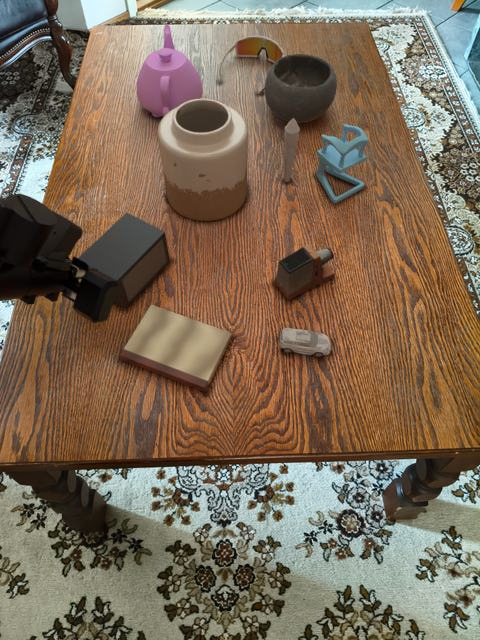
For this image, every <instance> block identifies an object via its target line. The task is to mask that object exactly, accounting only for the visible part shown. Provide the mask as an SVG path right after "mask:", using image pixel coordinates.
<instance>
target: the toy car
mask: <svg viewBox="0 0 480 640" xmlns="http://www.w3.org/2000/svg"><path fill="white" fill-rule="evenodd" d="M279 349H282V350H283V351H282V352H284V353H286V354H292V353H296V354H301V355H306V356H307V355H308V356H312V355H314V356H315V357H317V358H323V357H324V356H328V355H330V353H331V352H332V351H331V350H332V343H331V339H330V338H329V337H328V335H327V334H325V333H321V332H317V331H313V330H312V329H311V328H309V330H308V329H302V328H301V329H300V328H298V329H297V328H292V327H284V328H283V329H282V330H281V332H280V335H279Z"/></svg>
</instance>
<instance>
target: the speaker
mask: <svg viewBox="0 0 480 640" xmlns="http://www.w3.org/2000/svg"><path fill="white" fill-rule="evenodd" d="M77 258H78V259H80V260H82V261H84V262H85V263H87V264H88V265H89V266H92V267H95V268H96V269H98V271H99V272H102V273H104V274H106V275H108V276H109V277H111V278H113V279H115V280H117V283H118V286H119V287H118V290H117V293H116V296H115V299H114V301H113V304H114V305H115V304H116V306H118V307H120V308H122V309H123V310H127V309H128V308H129V307H130V305H131V304H132V303H134V301H136V300H137V298H138V297H139V296H140V295H141V294H142V293H143V292H144V290H145V289H147V288H148V286H149V285H150V284H151V283H152V282H153V281H154V280H155V278H157V277H158V276H159V275H160V273H161V272H162V271H163V270H164V269H165V268H166V267H167V266H168V265H169V264H170V263H171V259H170V258H171V257H170V252H169V246H168V241H167V236H166V231H164V230H162V229H160V228H158V227H156V226H155V225H152V224H151V223H148V222H147V221H145V220H143V219H141V218H139V217H137V216H134V215H132V214H131V213H129V212H125V213H124V214H123V215H122V216H121V217H120V218H119V219H118V220H116V222H114V224H112V226H111V227H109V228H108V229H107V230H106V231H105V232H104V233H103V234H102V235H101V236H100V237H99V238H98V239H96V240H95V242H93V243H92V244H91V245H90V246H89V247H88V248H87V249H86V250H85V251H84V252H83V253H82V254H81V255H79V256H78V257H77Z"/></svg>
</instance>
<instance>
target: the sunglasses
mask: <svg viewBox="0 0 480 640" xmlns="http://www.w3.org/2000/svg"><path fill="white" fill-rule="evenodd" d="M234 50H235V55H236V57H238V58H258V57H260V55H261V53H262V51H263V50H264V52H265V58H266V59H267V60H268V61H269V62H271V63H273V64H274V63H275V62H276V61H277V60H278V59H280V58H282V57H284V56H286V55H285V51H284V49H283V48H282V47H281V45H280V43H278V42H277V41H276V40H274V39H273V38H270V37H268V36H264V35H258V34H256V35H255V34H253V35H245V36H244V37H240V38H238V39H237V40H236V41H234V42H233V43H232V45H231V46H229V48H228V49H227V50H226V52H225V53H224V55H223V57H222V59H221V61H220V63H219V66H218V83H219V84H220V83H221V69H222V66H223V63H224V61H225V59H226V57H227V56H228V55H229V54H230V53H232V52H233V51H234ZM263 92H265V85H264V86H263V87H262V88H261V89H260V90H259V91H258V92H257V94H258V95H260V94H262V93H263Z"/></svg>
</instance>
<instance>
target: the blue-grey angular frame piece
mask: <svg viewBox="0 0 480 640" xmlns="http://www.w3.org/2000/svg"><path fill="white" fill-rule="evenodd" d="M342 128H343V130H342V134H341V139H340V138H338V137H336V136H332V135H326V134H321V140H322V142H321V143H322V148H321V149H319V150H317V151H316V156H317V157H318V166H317V170H316V173H315V176H316V178H317V179H318V181H319V182H320V184H321V185H322V187H323V189H324V191H325V192H326V195H327V196H328V198H329V199H330V201H331V202H332V203H333V204H337V203H340V202H341V201H343V200H345V199H346V198H348V197H351V196H352V195H354V194H356V193H357V192H359V191H362V190H363V189H364V188H365V182H364V181H362V180H360V179H358V178H356V177H353V176H351V175H348V174H347V173H345V172H346V171H348V170H349V169H351V168H354V167H355V166H357V165H360V164H362V163H363V162H366V161H367V158H368V156H367V155H366V154H364V150H365V148H366V147H367V145H368V143H369V142H370V139H369V137H368V136H367V134H366V132H365V131H364V130H363V129H362V128H361V127H359V126H356V125H349V124H346V123H343V124H342ZM348 132H352V133H354V134H355V135H357V137H354V138H353V139H351V140H350V141H347V133H348ZM328 144H330V145H328ZM358 148H359V149H358ZM324 172H326V173H328V174H330V175H331V176H334V177H336V178H338V179H340V180H342V181H345V182H347V183H350V184H352V185H354V187H352V188H350V189H349V190H346V191H344V192H343V193H341V194H339V195H337V196H336V195H335V192H333V190H332V187H331V185H330V184H329V182H328V179H327V178H326V176H325V173H324Z"/></svg>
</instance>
